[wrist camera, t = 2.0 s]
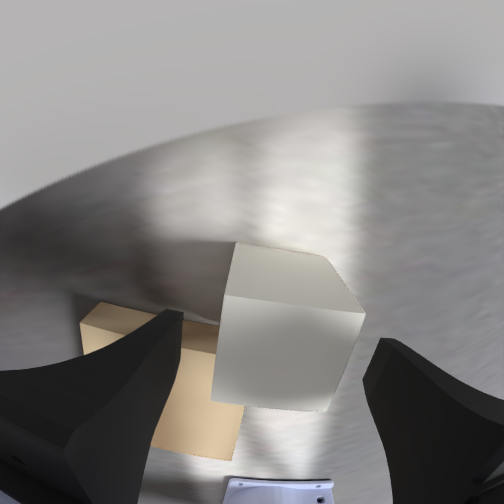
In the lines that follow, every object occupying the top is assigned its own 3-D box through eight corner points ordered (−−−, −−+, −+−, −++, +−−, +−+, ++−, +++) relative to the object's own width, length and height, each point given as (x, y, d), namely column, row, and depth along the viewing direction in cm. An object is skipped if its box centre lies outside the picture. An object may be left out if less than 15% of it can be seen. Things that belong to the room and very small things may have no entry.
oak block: (255, 328, 16) (255, 360, 14) (233, 429, 19) (231, 461, 16) (103, 298, 16) (79, 322, 13) (114, 403, 19) (100, 431, 16)
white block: (326, 256, 15) (366, 313, 9) (305, 333, 16) (326, 411, 10) (236, 241, 15) (224, 294, 9) (223, 322, 16) (210, 400, 10)
